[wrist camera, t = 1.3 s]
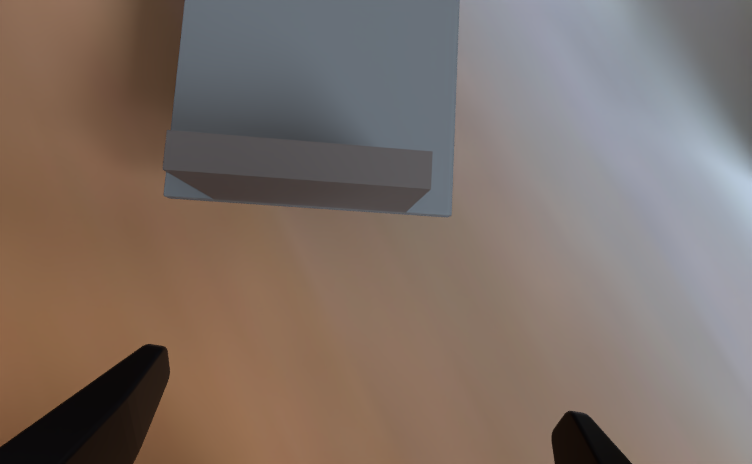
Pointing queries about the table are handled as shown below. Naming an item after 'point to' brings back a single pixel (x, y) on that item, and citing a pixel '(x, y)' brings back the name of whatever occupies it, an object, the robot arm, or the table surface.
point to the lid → (316, 105)
